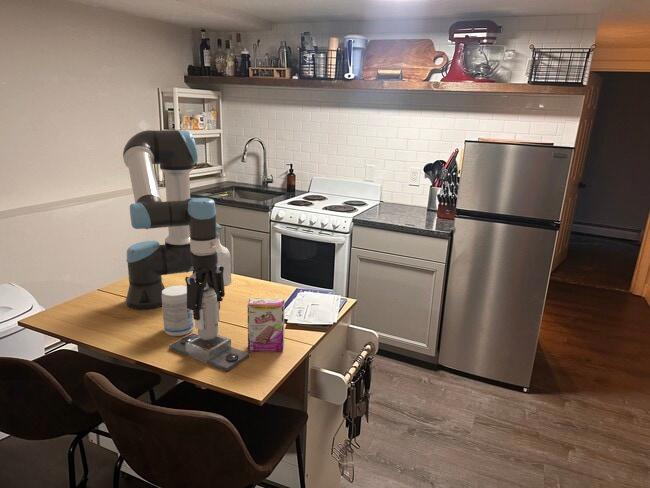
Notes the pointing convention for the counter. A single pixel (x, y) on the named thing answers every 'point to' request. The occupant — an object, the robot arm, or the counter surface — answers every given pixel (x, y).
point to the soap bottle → (223, 260)
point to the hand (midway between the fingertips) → (207, 324)
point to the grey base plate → (211, 351)
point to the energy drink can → (209, 314)
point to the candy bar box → (266, 325)
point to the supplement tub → (176, 311)
